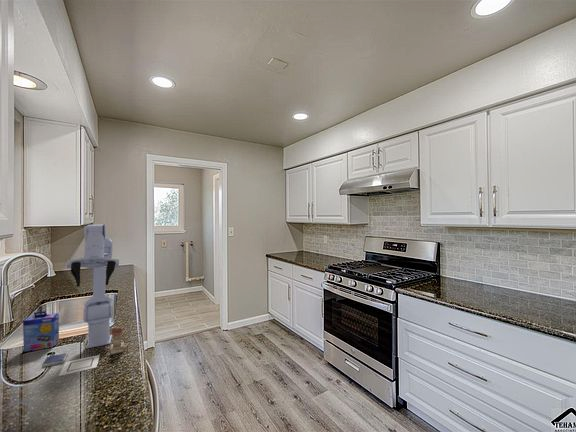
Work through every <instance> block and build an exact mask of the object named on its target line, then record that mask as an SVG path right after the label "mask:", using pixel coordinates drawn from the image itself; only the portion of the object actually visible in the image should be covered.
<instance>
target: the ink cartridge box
mask: <svg viewBox="0 0 576 432" xmlns="http://www.w3.org/2000/svg"><path fill="white" fill-rule="evenodd" d="M33 314H34V315H32V316H30V315H29V316H28V317H27V318H25V319H23V320H22V327H23V328H22V332H23V334H22V335H23V339H22V340H23V352H24V353H25V352H30V351H31V350H32V351H36V350H44V348H45V349H50V348H49V347H51V348H54V347H53V346H55V345H56V344H57V343H58V342H59V343H60V324H59V317H60V316H59V313H58V312H54V313H47V312H46V311H44V310H42V311H35V312H33ZM59 343H58V344H59ZM58 344H57V345H58ZM57 345H56V346H57ZM56 346H55V347H56Z"/></svg>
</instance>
